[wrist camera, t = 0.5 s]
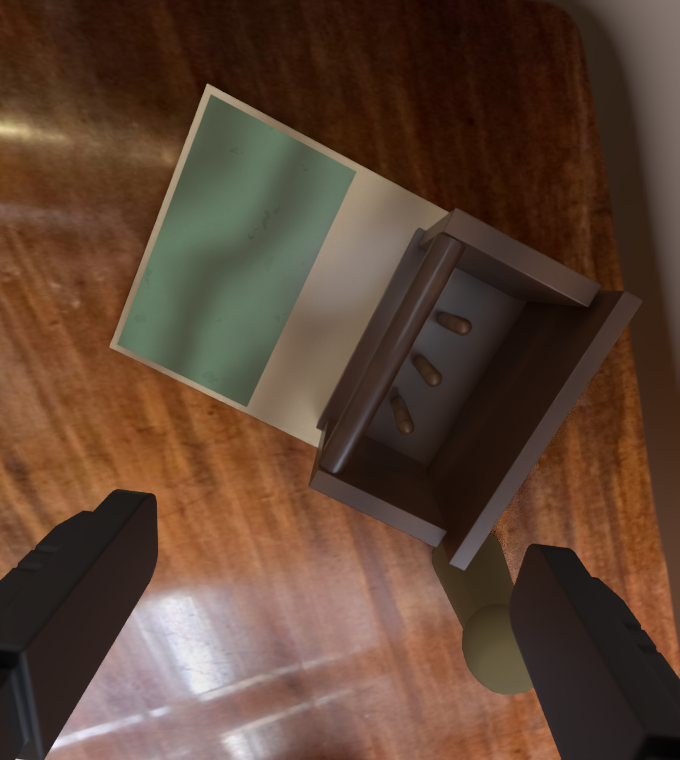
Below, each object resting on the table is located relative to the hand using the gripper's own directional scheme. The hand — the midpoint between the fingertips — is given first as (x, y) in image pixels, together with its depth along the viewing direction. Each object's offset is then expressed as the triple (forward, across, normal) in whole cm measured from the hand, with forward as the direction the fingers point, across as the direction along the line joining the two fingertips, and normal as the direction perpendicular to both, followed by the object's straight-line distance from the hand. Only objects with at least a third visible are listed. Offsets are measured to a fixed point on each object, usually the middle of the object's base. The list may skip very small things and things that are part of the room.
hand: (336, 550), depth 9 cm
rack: (+23, -6, +2) cm, 24 cm away
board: (+25, +2, 0) cm, 25 cm away
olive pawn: (+22, -12, +19) cm, 32 cm away
